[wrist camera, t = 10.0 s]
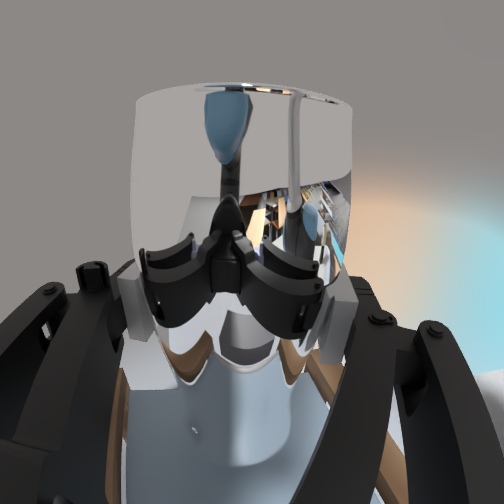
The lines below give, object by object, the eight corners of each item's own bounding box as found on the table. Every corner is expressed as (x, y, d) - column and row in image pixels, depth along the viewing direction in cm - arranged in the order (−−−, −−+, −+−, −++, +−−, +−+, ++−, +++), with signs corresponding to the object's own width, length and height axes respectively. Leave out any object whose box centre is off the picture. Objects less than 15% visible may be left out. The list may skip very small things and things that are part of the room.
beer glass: (320, 411, 14) (382, 121, 9) (247, 499, 9) (282, 62, 3) (228, 363, 18) (232, 115, 12) (147, 421, 13) (92, 110, 7)
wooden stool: (301, 422, 29) (325, 339, 24) (364, 553, 12) (445, 519, 7) (138, 441, 24) (101, 359, 19) (152, 590, 7) (85, 592, 2)
